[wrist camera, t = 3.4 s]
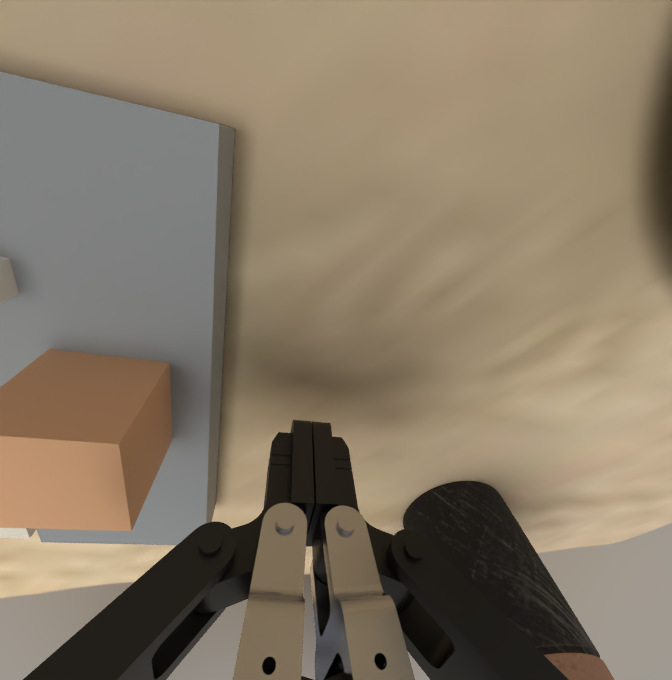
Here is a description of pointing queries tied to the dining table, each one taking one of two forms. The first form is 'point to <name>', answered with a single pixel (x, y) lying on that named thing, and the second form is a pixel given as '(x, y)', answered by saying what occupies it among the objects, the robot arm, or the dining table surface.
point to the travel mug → (505, 571)
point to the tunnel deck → (120, 268)
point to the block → (82, 440)
